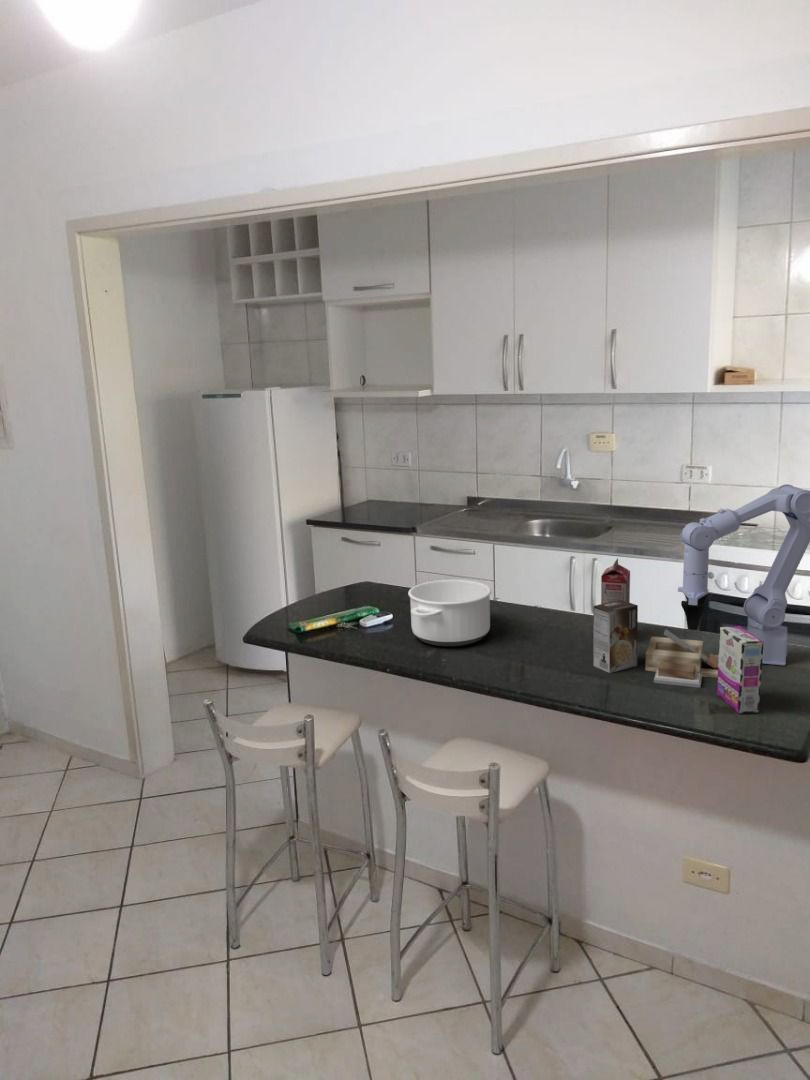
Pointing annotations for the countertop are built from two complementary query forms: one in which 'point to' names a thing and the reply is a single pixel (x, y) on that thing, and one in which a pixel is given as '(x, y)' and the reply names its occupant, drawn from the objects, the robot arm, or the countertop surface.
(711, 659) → the lever
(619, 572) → the juice carton
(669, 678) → the grey pad
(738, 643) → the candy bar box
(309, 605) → the countertop surface
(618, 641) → the coffee box
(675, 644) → the pocket board
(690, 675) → the walnut block
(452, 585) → the pot
